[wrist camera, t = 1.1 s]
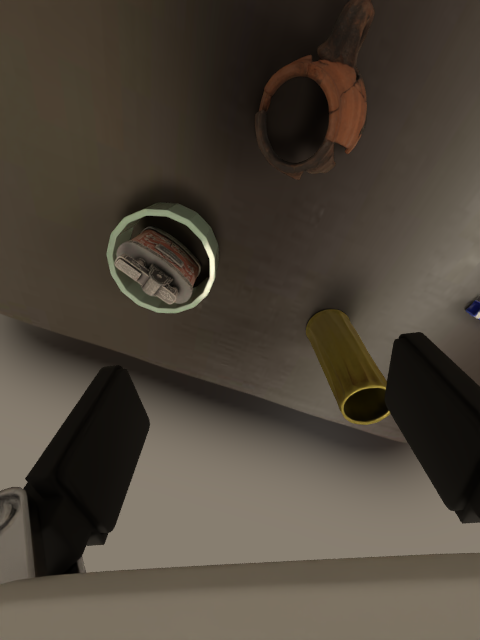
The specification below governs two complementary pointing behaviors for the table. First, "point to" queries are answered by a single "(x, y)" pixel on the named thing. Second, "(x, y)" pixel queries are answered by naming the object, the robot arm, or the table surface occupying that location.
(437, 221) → the table surface
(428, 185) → the table surface
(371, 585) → the robot arm
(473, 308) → the eraser
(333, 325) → the vase
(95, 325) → the table surface
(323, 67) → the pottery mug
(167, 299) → the lighter
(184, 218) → the pale green hollow ring
